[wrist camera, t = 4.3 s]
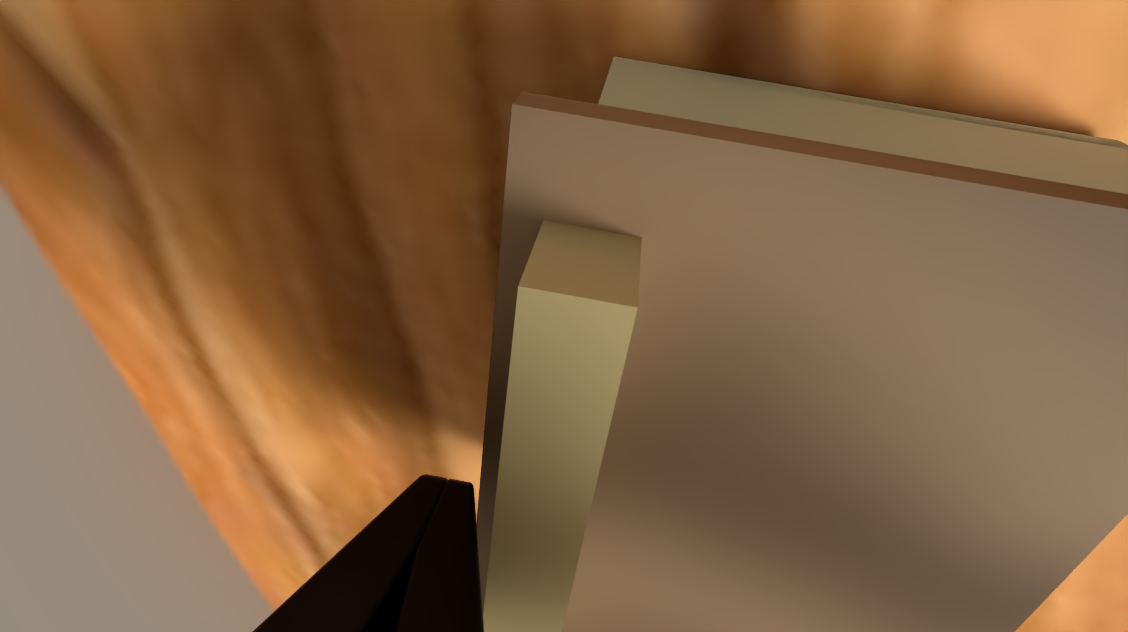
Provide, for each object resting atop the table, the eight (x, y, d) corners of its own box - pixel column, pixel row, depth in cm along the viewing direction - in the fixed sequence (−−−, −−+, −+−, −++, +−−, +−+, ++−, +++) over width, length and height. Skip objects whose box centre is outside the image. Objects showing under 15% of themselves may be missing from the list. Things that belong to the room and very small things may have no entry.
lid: (892, 717, 13) (929, 845, 12) (472, 632, 14) (443, 743, 12) (1327, 228, 7) (1564, 340, 5) (522, 91, 7) (476, 150, 6)
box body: (869, 536, 17) (926, 707, 13) (544, 473, 17) (513, 623, 14) (1119, 140, 11) (1349, 254, 7) (613, 56, 11) (591, 124, 8)
